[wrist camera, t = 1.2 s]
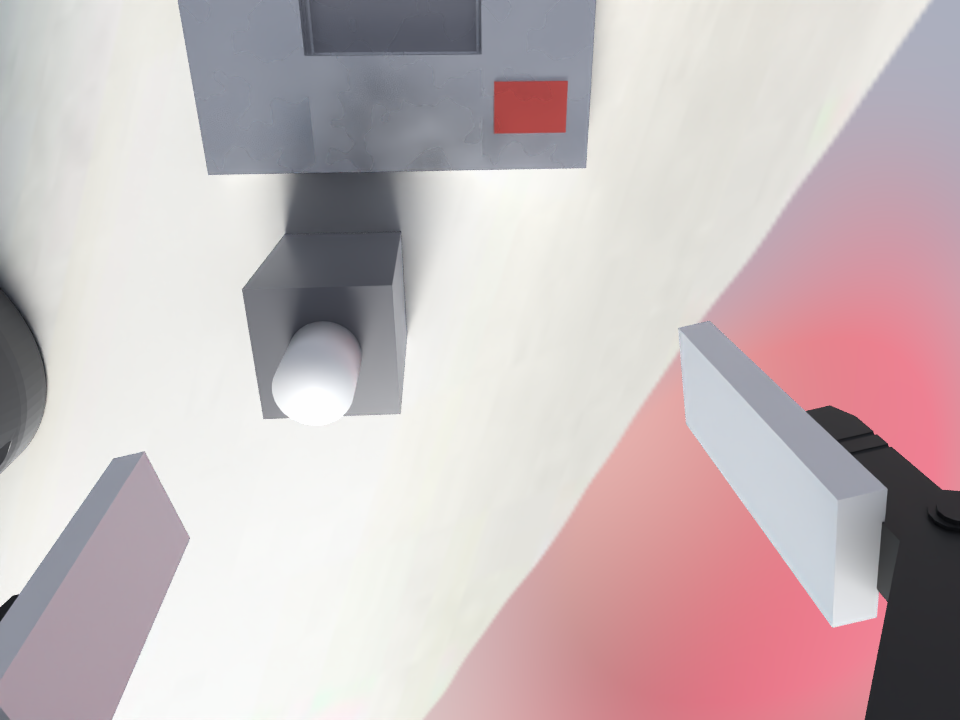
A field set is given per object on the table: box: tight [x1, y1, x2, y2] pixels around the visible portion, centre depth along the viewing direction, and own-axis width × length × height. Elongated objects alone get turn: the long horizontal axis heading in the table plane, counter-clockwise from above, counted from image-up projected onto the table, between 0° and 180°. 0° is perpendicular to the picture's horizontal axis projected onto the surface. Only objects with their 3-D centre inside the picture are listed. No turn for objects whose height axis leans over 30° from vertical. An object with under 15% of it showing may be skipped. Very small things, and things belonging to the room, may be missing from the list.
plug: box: [242, 232, 407, 425], centre depth 28 cm, size 6×6×11 cm
